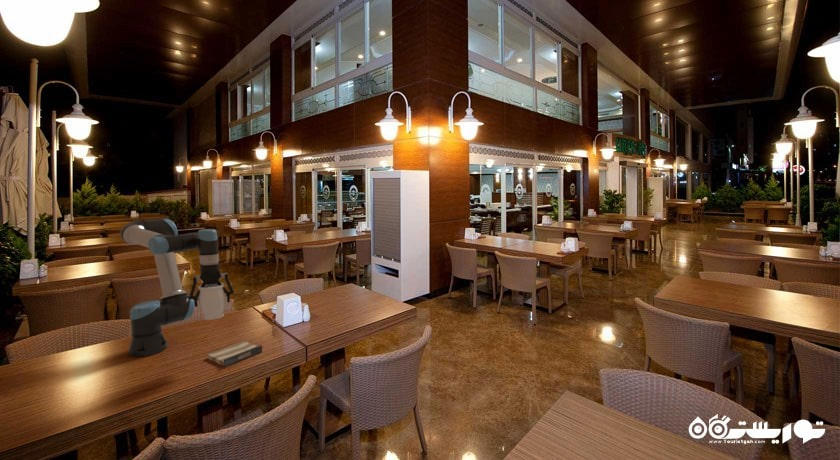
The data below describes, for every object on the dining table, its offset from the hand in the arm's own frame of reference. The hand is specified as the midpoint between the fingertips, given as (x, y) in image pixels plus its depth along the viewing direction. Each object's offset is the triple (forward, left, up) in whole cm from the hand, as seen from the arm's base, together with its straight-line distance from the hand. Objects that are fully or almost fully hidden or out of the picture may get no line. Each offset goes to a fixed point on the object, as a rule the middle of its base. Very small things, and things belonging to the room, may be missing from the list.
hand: (213, 311), depth 169 cm
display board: (+4, +7, -23) cm, 24 cm away
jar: (0, 0, -3) cm, 3 cm away
